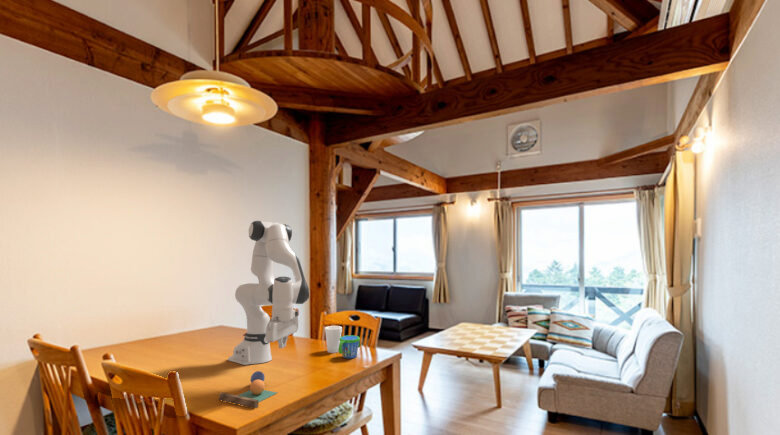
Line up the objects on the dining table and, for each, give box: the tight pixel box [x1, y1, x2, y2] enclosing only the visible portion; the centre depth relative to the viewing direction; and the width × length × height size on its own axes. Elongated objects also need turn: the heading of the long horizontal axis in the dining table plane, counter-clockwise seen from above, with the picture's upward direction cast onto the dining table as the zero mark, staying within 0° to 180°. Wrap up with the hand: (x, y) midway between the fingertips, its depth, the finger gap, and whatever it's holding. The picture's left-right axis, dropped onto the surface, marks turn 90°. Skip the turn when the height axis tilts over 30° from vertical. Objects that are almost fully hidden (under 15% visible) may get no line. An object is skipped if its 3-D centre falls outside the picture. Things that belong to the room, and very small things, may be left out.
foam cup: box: [324, 325, 343, 354], centre depth 219 cm, size 10×9×13 cm
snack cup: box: [337, 334, 361, 359], centre depth 207 cm, size 16×11×10 cm
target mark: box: [237, 389, 278, 403], centre depth 153 cm, size 12×12×1 cm
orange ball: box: [249, 379, 266, 395], centre depth 154 cm, size 6×6×6 cm
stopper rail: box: [218, 392, 259, 409], centre depth 145 cm, size 18×2×2 cm, turn 65°
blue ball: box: [250, 370, 265, 383], centre depth 165 cm, size 6×6×6 cm
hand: (282, 347), depth 168 cm, fingers closed
